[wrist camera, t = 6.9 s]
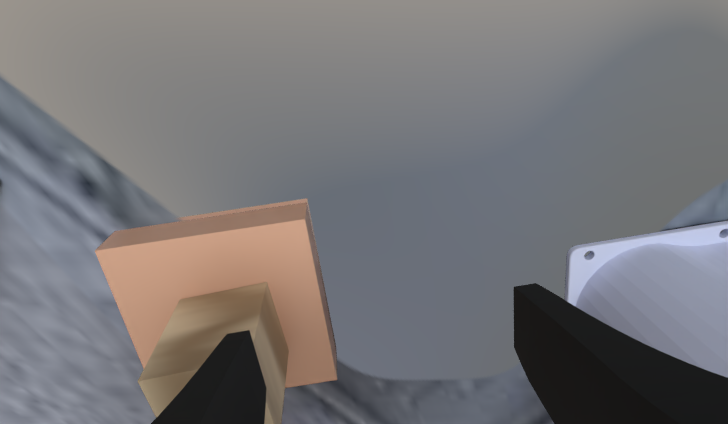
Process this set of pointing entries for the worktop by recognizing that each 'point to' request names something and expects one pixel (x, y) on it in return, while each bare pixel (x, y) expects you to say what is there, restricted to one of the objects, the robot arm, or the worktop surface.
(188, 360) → the beech block
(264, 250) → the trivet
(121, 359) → the worktop surface
